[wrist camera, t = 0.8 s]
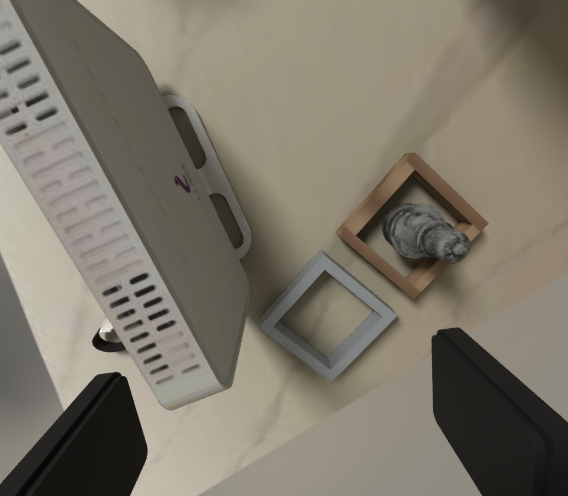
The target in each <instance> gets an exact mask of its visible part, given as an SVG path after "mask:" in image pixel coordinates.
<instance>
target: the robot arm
mask: <svg viewBox="0 0 568 496" xmlns="http://www.w3.org/2000/svg"><path fill="white" fill-rule="evenodd" d="M432 379H433V381H432V382H433V413H434V417H435V419H436V422H437V424H438V426H439V427H440V428H441V430H442V432H443V433H444V435H445V437H446V438H447V440H448V442H449V443H450V445H451V446H452V448H453V449H454V451H455V453H456V454H457V456H458V458H459V459H460V461H461V462H462V464H463V466H464V467H465V469H466V470H467V472H468V474H469V475H470V477H471V478H472V480H473V482H474V483H475V485H476V486H477V488H478V490H479V491H480V493H481V494H482V496H568V422H567V421H566V420H564V419H563V418H562V417H561V416H560V415H559V414H558V413H557V412H555V411H554V410H553V409H552V408H551V407H550V406H548V405H547V404H546V403H545V402H544V401H543V400H542V399H541V398H539V397H538V396H537V395H536V394H535V393H534V392H533V391H531V390H530V389H529V388H528V387H527V386H526V385H525V384H523V383H522V382H521V381H520V380H519V379H518V378H517V377H515V376H514V375H513V374H512V373H511V372H509V370H507V369H506V368H505V367H504V366H503V365H502V364H500V363H499V362H498V361H497V360H496V359H495V358H494V357H493V356H491V355H490V354H489V353H488V352H487V351H486V350H485V349H483V348H482V347H481V346H480V345H479V344H478V343H476V342H475V341H474V340H473V339H472V338H471V337H470V336H469V335H467V334H466V333H465V332H464V331H463V330H462V329H460V328H449V329H441V330H438V331H437V335H434V336H432ZM147 452H148V449H147V444H146V441H145V437H144V434H143V431H142V427H141V424H140V421H139V417H138V414H137V411H136V407H135V404H134V400H133V397H132V394H131V390H130V387H129V384H128V380H127V378H126V377H125V376H122V375H121V374H120V373H119V372H113V373H105V374H99V375H97V376H95V377H94V378H93V379H92V381H91V382H90V383H89V384H88V385H87V386H86V387H85V389H84V390H83V391H82V392H81V393H80V394H79V395H78V396H77V398H76V399H75V400H74V401H73V402H72V403H71V404H70V406H69V407H68V408H67V409H66V410H65V411H64V412H63V414H62V415H61V416H60V417H59V418H58V419H57V420H56V421H55V423H54V424H53V425H52V426H51V427H50V428H49V430H48V431H47V432H46V433H45V434H44V435H43V437H41V439H40V440H39V441H38V442H37V443H36V444H35V445H34V446H33V448H32V449H31V450H30V451H29V452H28V453H27V454H26V456H25V457H24V458H23V459H22V460H21V461H20V462H19V463H18V465H17V466H16V467H15V468H14V469H13V470H12V471H11V473H10V474H9V475H8V476H7V477H6V478H5V479H4V480H3V482H2V483H1V484H0V496H130V495H131V492H132V490H133V488H134V486H135V484H136V481H137V479H138V477H139V475H140V473H141V470H142V468H143V466H144V464H145V461H146V459H147Z"/></svg>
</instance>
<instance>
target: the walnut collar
mask: <svg viewBox="0 0 568 496" xmlns="http://www.w3.org/2000/svg"><path fill="white" fill-rule="evenodd" d="M410 175H412V176H413V177H414V178H415V179H416V180H417V181H418V182H419V183H420V184H421V185H422V186H423V187H424V188H425V189H426V190H428V191H429V192H430V193H431V194H432V195H433V196H434V197H435V198H436V199H437V200H438V201H439V202H440V203H441V204H442V205H443V206H444V207H446V208H447V209H448V210H449V211H450V212H451V213H452V214H453V215H454V216H455V217H456V218H457V219H458V220H459V221H460V222H459V223H458V224H457V225H456V226H455V227H454V229H455V230H458V231H461V232H463V233H464V234H466V235H467V237H468V238H469V240H470V242H471V241H472V240H473V239H474V238H475V237H476V236H477V235H478V234H479V233H480V232H481V231H482V230H483V229H484V228H485V227H486V226H487V225H488V224H489V223H488V222H487V221H486V220H485V219H484V218H483V217H482V216H481V215H480V214H479V213H478V212H476V211H475V210H474V209H473V208H472V207H471V206H470V205H469V204H468V203H467V202H466V201H465V200H464V199H463V198H462V197H461V196H460V195H459V194H458V193H457V192H456V191H455V190H454V189H453V188H452V187H451V186H450V185H448V184H447V183H446V182H445V181H444V180H443V179H442V178H441V177H440V176H439V175H438V174H437V173H436V172H435V171H434V170H433V169H432V168H431V167H430V166H429V165H428V164H427V163H426V162H425V161H424V160H423V159H422V158H420V157H419V156H418V155H417V154H416V153H407V154H405V155H404V156H403V157H402V158H401V159H400V160H399V162H398V163H397V164H396V165H395V166H394V167H393V168H392V170H391V171H390V172H389V173H388V174H387V175H386V176H385V177H384V179H383V180H382V181H381V182H380V183H379V184H378V185H377V186H376V188H375V189H374V190H373V191H372V192H371V193H370V194H369V195H368V197H367V198H366V199H365V200H364V201H363V202H362V203H361V204H360V206H359V207H358V208H357V209H356V210H355V211H354V212H353V214H352V215H351V216H350V217H349V218H348V219H347V220H346V221H345V223H344V224H343V225H342V226H341V227H340V228H339V229H338V230H337V232H336V233H337V234H338V235H339V236H340V237H341V238H342V239H343V240H344V241H345V242H346V243H348V244H349V245H350V246H351V247H352V248H354V249H355V250H356V251H357V252H358V253H359V254H361V255H362V256H363V257H364V258H365V259H366V260H368V261H369V262H370V263H371V264H372V265H374V266H375V267H376V268H377V269H378V270H379V271H381V272H382V273H383V274H384V275H385V276H386V277H388V278H389V279H390V280H391V281H392V282H394V283H395V284H396V285H397V286H398V287H399V288H401V289H402V290H403V291H404V292H405V293H407V294H408V295H409V296H410V297H411V298H412V299H414V298H415V297H416V296H417V295H418V294H419V293H420V292H421V291H422V290H423V289H424V288H425V287H426V286H427V285H428V284H429V283H430V282H431V281H432V280H433V279H434V278H435V277H436V276H437V275H438V274H439V273H440V272H441V271H442V270H443V269H444V268H445V267H446V266H447V265H448V264H449V263H447V262H444V261H442V260H440V259H438V258H428V257H425V258H424V259H423V260H422V261H421V262H420V263H419V264H418V265H417V266H416V267H415V268H414V269H413V270H412V271H411V272H410V273H409V274H408V275H407V276H406V278H404V277H403V276H402V275H401V274H400V273H399V272H397V271H396V270H395V269H394V268H393V267H392V266H390V265H389V264H388V263H387V262H386V261H385V260H383V259H382V258H381V257H380V256H379V255H378V254H377V253H375V252H374V251H373V250H372V249H371V248H370V247H368V246H367V245H366V244H365V243H364V242H363V241H361V240H360V239H359V238H358V237H357V236H356V234H357V233H358V232H359V231H360V230H361V229H362V228H363V227H364V226H365V224H366V223H367V222H368V221H369V220H370V219H371V218H372V217H373V216H374V214H375V213H376V212H377V211H378V210H379V209H380V208H381V207H382V206H383V204H384V203H385V202H386V201H387V200H388V199H389V198H390V197H391V196H392V195H393V193H394V192H395V191H396V190H397V189H398V188H399V187H400V186H401V185H402V183H403V182H404V181H405V180H406V179H407V178H408V177H409V176H410Z"/></svg>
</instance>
